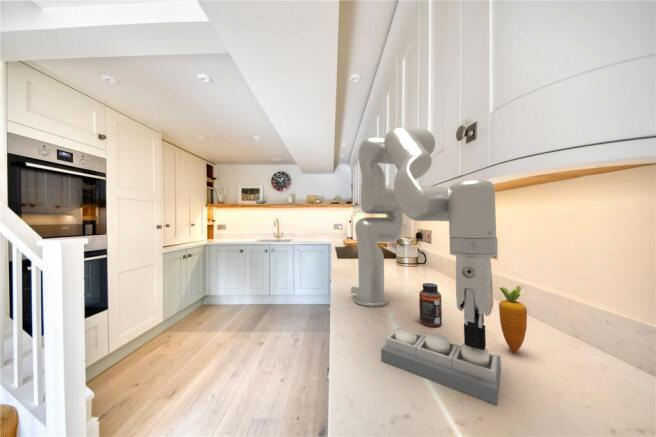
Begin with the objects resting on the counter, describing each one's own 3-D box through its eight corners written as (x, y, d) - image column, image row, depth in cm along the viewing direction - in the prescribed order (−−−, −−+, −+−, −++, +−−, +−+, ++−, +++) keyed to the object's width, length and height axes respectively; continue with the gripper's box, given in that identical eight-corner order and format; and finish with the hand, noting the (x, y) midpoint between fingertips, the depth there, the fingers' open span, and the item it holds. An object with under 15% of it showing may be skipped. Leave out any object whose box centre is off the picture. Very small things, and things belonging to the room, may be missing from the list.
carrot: (498, 352, 52) (496, 285, 53) (502, 344, 56) (500, 281, 56) (527, 361, 49) (524, 289, 49) (529, 352, 53) (527, 285, 53)
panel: (381, 360, 50) (381, 340, 50) (402, 338, 59) (402, 322, 59) (497, 405, 37) (496, 378, 37) (500, 368, 47) (500, 347, 47)
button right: (459, 361, 43) (459, 350, 43) (463, 350, 47) (463, 340, 47) (488, 370, 40) (487, 358, 40) (490, 358, 44) (489, 347, 44)
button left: (392, 343, 51) (392, 334, 51) (400, 336, 55) (399, 327, 55) (412, 350, 49) (412, 340, 49) (419, 342, 52) (419, 332, 52)
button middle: (422, 349, 47) (422, 339, 47) (429, 341, 51) (429, 331, 51) (446, 357, 45) (446, 346, 45) (451, 347, 48) (451, 337, 48)
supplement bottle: (444, 328, 65) (443, 287, 65) (421, 327, 66) (421, 286, 66) (438, 320, 71) (438, 282, 71) (418, 318, 72) (417, 281, 72)
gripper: (493, 252, 36) (497, 374, 35) (498, 245, 48) (501, 336, 47) (440, 249, 41) (443, 357, 40) (457, 243, 52) (459, 327, 52)
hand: (475, 346), depth 44 cm, fingers closed
